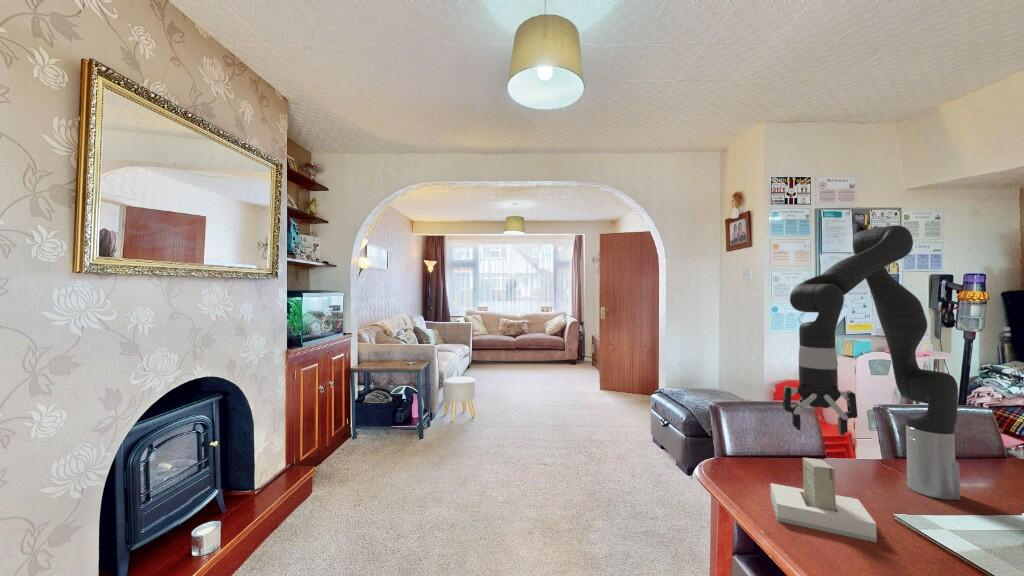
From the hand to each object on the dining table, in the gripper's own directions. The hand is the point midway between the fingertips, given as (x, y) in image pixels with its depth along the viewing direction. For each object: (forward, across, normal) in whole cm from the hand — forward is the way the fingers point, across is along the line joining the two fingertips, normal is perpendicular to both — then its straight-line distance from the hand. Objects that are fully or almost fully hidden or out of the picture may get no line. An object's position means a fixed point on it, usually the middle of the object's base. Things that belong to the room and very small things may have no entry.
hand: (819, 431), depth 97 cm
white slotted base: (+20, +1, +2) cm, 20 cm away
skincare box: (+20, +1, +2) cm, 20 cm away
